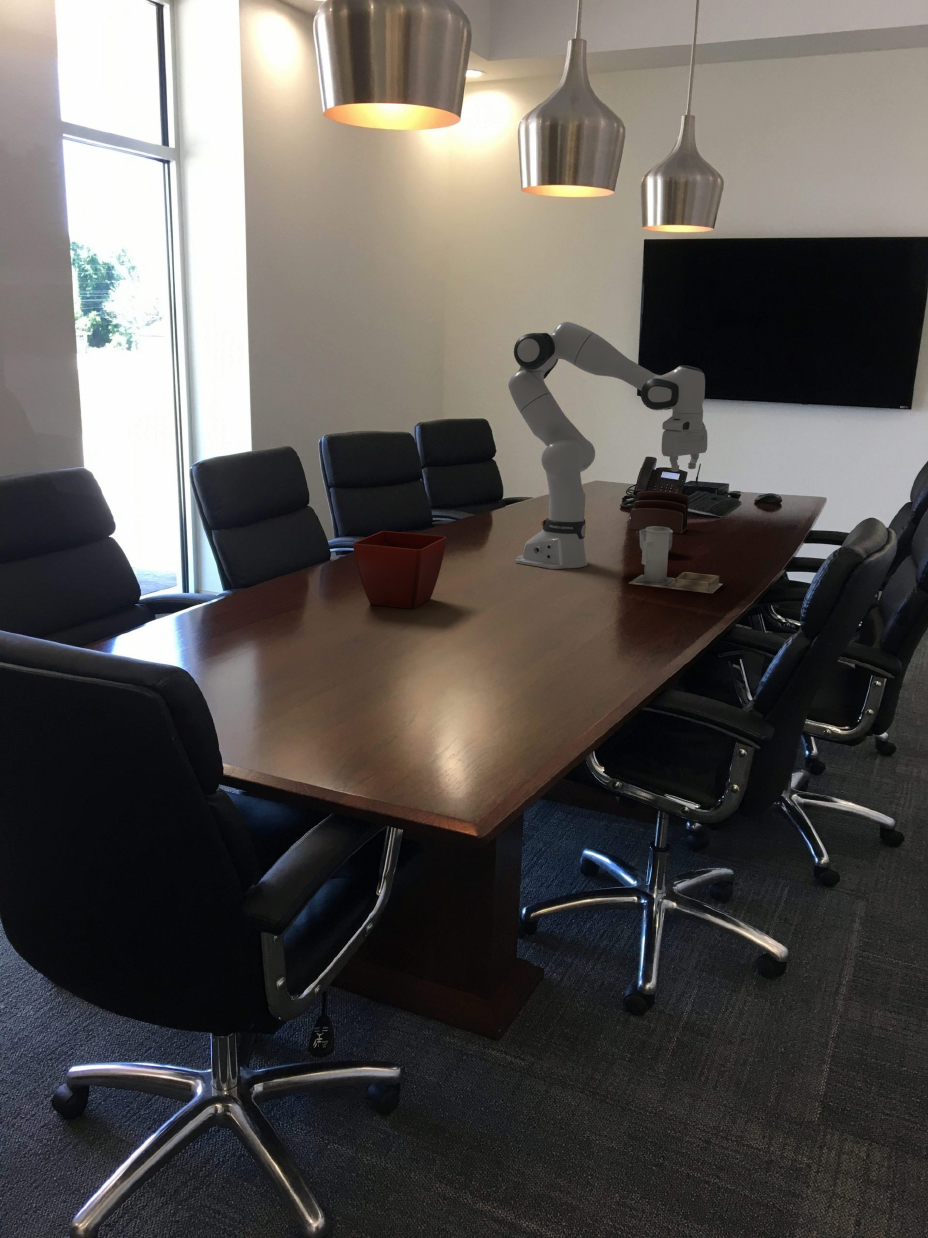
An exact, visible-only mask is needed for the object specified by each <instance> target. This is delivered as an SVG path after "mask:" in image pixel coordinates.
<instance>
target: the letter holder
mask: <svg viewBox="0 0 928 1238" xmlns="http://www.w3.org/2000/svg"><path fill="white" fill-rule="evenodd" d="M689 500H690V499H689V496H688V495H686V494H683V493H678V492H671V491H663V490H648V491H647V490H644V491H639V492H637V493H636V500H635V501H634V503H633V509H631V510H630V513H629V517H630V518H629V530H631V531H640V530H643V529H646V527H651V526H661V527H668V528H670V530H672V531H673V533H672V534H679V535H682V534H683V533H684V532H686V531H687V529H688V517H689V515H688V514H689V502H690V501H689Z"/></svg>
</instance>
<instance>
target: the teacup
mask: <svg viewBox="0 0 928 1238" xmlns="http://www.w3.org/2000/svg"><path fill="white" fill-rule="evenodd" d="M638 531H639V548H640V549H641V551H642V549H643V542H644V541H646V529H643V530H638ZM673 534H674V533H673V531H672V530H670V532H669V546H668V552H669V551H671V550H672V546H673Z"/></svg>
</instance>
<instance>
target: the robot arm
mask: <svg viewBox="0 0 928 1238" xmlns="http://www.w3.org/2000/svg"><path fill="white" fill-rule="evenodd" d="M552 331H553V332H552V333H551V334H549V333H548V332H529V333H526V334H524V335H522V336H521V337H519V338H518V339H516V342H515V343H514V347H513V357H514V359H515V361H516V363H517V364H518V365H519V369H518V370H517V371H516V372H514V373H513V375H512V376H511V377H510V379H509V381H508V385H507V387H508V390H509V393H510V396H511V397H512V400H513V402H514V404H515V406H516V408H517V410H518V412H519V414H520V415H521V416H522V418H523V419H524V421H525V423H526V424H527V426H528V427H529V429H530V431H531V432H532V434H533V436H535V437H536V438H538V439H539V440H540V441H541V442H542V444H544V445H545V446H546V448H545V449H544V450H543V451H542V455H541V465H542V468H543V469H544V472H545V475H546V481H547V487H548V493H549V495H548V499H549V500H548V517H546V519H543V521H541V522H540V526H541V527H542V529H541V531H539V532H538V533H536V534H535V535H534V536H532V537H531V538H529V539H528V540H527V541H526V542H525V544H524V547H523V552H522V554H519V555H518V556H517V557H516V558H515V563H517V564H522V565H528V566H532V567H534V566H535V567H540V568H544V569H550V570H560V569H562V570H563V569H576V568H578V569H579V568H582V567H586V566H588V561H587V556H586V549H585V537H586V532H587V531H586V530H587V529H586V519H585V512H586V511H585V508H586V494H585V491H584V489H583V483H582V477H581V473H582V472H585V470H587V469H588V468H589V467H591V465H592V463H594V461H595V457H596V449H595V447H594V445H593V443H592V442H591V441H590V440H588V439H587V438H586V437H585V436H584V435H583V434H582V433H581V431H579V429H578V428H577V427H576V426H575V425H574V424H573V423H572V421H571V420H570V419H569V418H568V417H567V415H566V414H565V413H564V411H563V410H562V409H561V407H560V405H559V404H558V402H557V400H556V399H555V397H554V396H553V394H552V393H551V391H550V389H549V388H548V386H547V384H546V383H545V379H546V378H547V376H549V374H551V373H550V372H552V371H553V369H554V368H555V367H556V365H557V363H558V361H559V360H564V361H566V362H568V363H569V364H571V365H573V366H575V367H576V368H578V369H579V370H582V371H584V372H586V373H588V374H591V375H595V376H599V377H600V376H601V377H608V378H609V377H610V378H615V379H618V380H620V381H621V380H622V381H623V382H624V383H625V382H626V384H629V385H630V386H632V387H634V388H636V389H638V390H639V391H640V398H641V401H642V404H643V405H644V406H645V407H646V408H648V409H650V410H652V411H663V410H666V411H668V410H672V415H671V416H670V417H669V418H667V419H666V420H664V421H663V422H662V424H661V425H662V426H661V427H662V428H661V429H662V430H664V431H663V432H662V434H661V435H662V436H661V454H662V455H663V457H667V458H668V457H669V462H670V465H671V466H670V471H671V472H679V471H680V465H679V464H678V460H679V457H682V456H690V457H691V458H690V460H689V462H688V463H687V465H688V466H687V468H688V470H695V469H696V467H697V462H698V460H699V458H700V454H706V452H707V450H708V430H707V429H706V425H705V423H704V422H703V419H704V409H703V402H704V400H705V394H706V377H705V373H704V371H702V369H700V368H698V367H696V366H695V367H694V366H690V365H679V366H678V367H676V368H675V369H673V370H671V371H669V372H667V373H665V374H657V373H656V372H655V373H654V372H653V371H651V370H649V369H647V368H646V367H643V366H642V365H640V364H638V363H637V362H636V361H633V360H631V359H629V358H628V357H627V356H626V355H624V354H623V353H622V352H621V351H619V350H618V349H617V348H616V347H615V346H613V345H612V344H611V343H610V342H609V341H607V340H606V339H605V338H603V337H602V336H600V335H599V334H597V333H596V332H595V331H592V330H590V329H588V328H586V327H584V326H582V325H580V324H577V323H573V322H571V321H564V322H561V323H559V324H558V325H557V326H556V327H555V328H554V330H552Z"/></svg>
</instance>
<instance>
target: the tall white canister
mask: <svg viewBox="0 0 928 1238" xmlns="http://www.w3.org/2000/svg"><path fill="white" fill-rule="evenodd" d="M669 532H670V528H668V527H661V526H651V527H646V541H644V542H643V549H642V550H641V552H642V553H641V556H642V557H641V565H644V569H643V570H644V572H643V575H644V580H645V581H648V582H655V583H659V582H665V581H666V579H667V577H668V576H667V574H668V561H669V560H668V559H669V558H668V557H669V551H668V546H669Z"/></svg>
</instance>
